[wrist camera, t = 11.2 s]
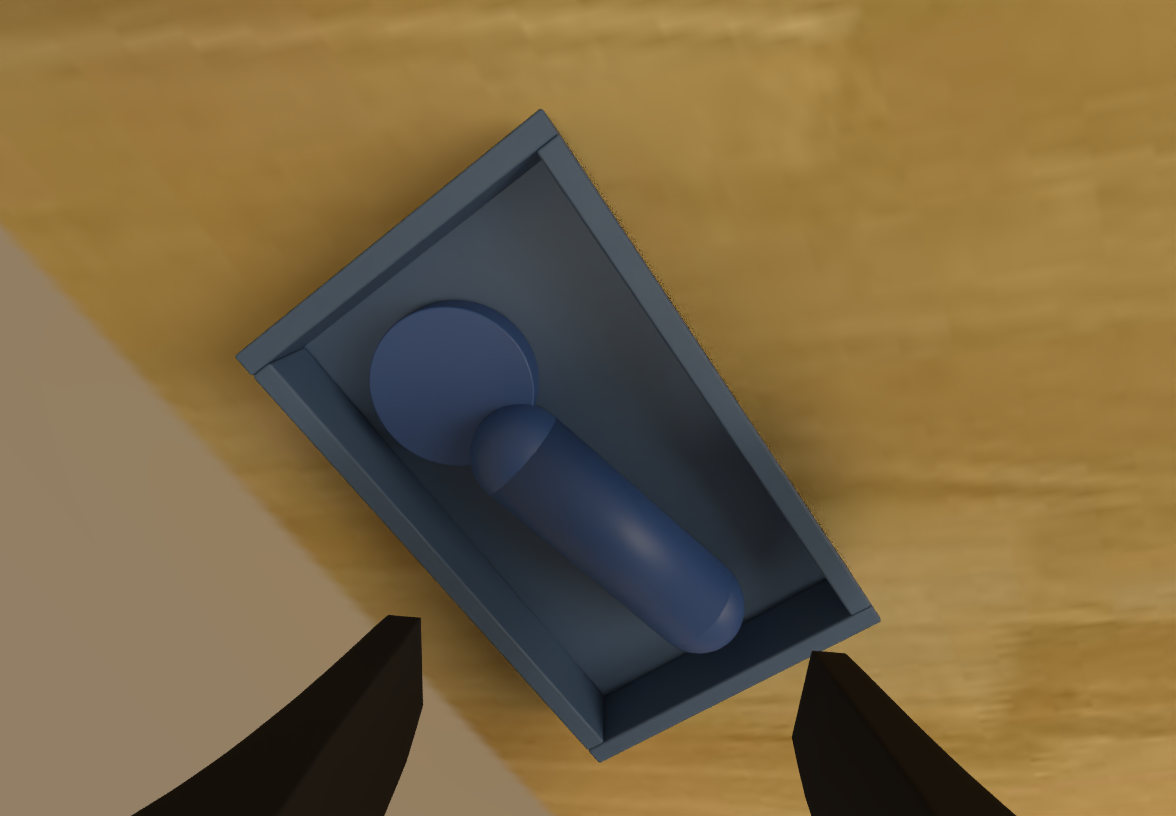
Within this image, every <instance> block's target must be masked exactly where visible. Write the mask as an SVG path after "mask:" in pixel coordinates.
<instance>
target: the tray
mask: <svg viewBox="0 0 1176 816" xmlns="http://www.w3.org/2000/svg"><path fill="white" fill-rule="evenodd" d="M449 300H463V301H469V302H474V303H478V304H481V305H484V306H487V307H489V308H491V309H493V310H495V311H497V312H498V313H500V314H502V315H503V316H505V317H506V318H507V319H508V320H510V321H511V322H512V323H513V324H514V325H515V326H516V327H517V328H518V329H519V330H520V332H521V333H522V334H523V336H524V337H525V338H526V340H527V342H528V343H529V345H530V347H531V349H532V351H533V354H534V356H535V359H536V363H537V367H538V374H539V390H538V397H537V400H536V404H535V406H539V407H541V408H543V409H545V410H547V411H549V412H550V413H551V414H553V415H554V416H556V417H557V418H558V419H559V420H560V421H561V422H562V423H564V424H565V425H566V426H567V427H568V428H569V429H570V430H571V431H573V432H574V433H575V434H576V435H577V436H578V437H579V438H581V439H582V440H583V441H584V442H585V443H586V444H587V445H589V446H590V447H591V448H592V449H593V450H594V451H595V452H596V453H598V454H599V455H600V456H601V457H602V458H603V459H604V460H606V461H607V462H608V463H609V464H610V465H611V466H612V467H614V468H615V469H616V470H617V471H618V472H619V473H620V474H621V475H623V476H624V477H625V478H626V479H627V480H628V481H629V482H631V483H632V484H633V485H634V486H635V487H636V488H637V489H639V490H640V491H641V492H642V493H643V494H644V495H645V496H647V497H648V498H649V499H650V500H651V501H652V502H653V503H654V504H656V505H657V506H658V507H659V508H660V509H661V510H662V511H664V512H665V513H666V514H667V515H668V516H669V517H670V518H672V519H673V520H674V521H675V522H676V523H677V524H678V525H679V526H681V527H682V528H683V529H684V530H685V531H686V532H687V533H689V534H690V535H691V536H692V537H693V538H694V539H695V540H697V541H698V542H699V543H700V544H701V545H702V546H703V547H704V548H706V549H707V550H708V551H709V552H710V553H711V554H712V555H714V556H715V557H716V558H717V559H718V560H719V561H720V562H722V563H723V564H724V565H725V566H726V567H727V568H728V569H729V570H730V571H731V572H732V573H733V574H734V576H735V577H736V579H737V581H738V582H739V584H740V586H741V589H742V592H743V596H744V605H745V610H744V617H743V621H742V624H741V627H740V629H739V631H738V632H737V634H736V635H735V637H734V638H733V639H732V640H731V641H730V642H729V643H728V644H726V645H725V646H723V647H722V648H720V649H718V650H716V651H713V652H708V653H689V652H686V651H683V650H681V649H678V648H676V647H675V646H673V645H672V644H670V643H669V642H667V641H666V640H665V639H664V638H663V637H661V636H660V635H659V634H658V633H656V632H655V631H654V630H653V629H652V628H650V627H649V626H648V625H647V624H645V623H644V622H643V621H642V620H641V619H639V618H638V617H637V616H636V615H635V614H633V613H632V612H631V611H630V610H628V609H627V608H626V607H625V606H624V605H622V604H621V603H620V602H619V601H618V600H616V599H615V598H614V597H613V596H611V595H610V594H609V593H608V592H607V591H605V590H604V589H603V588H602V587H601V586H599V585H598V584H597V583H596V582H594V581H593V580H592V579H591V578H590V577H588V576H587V575H586V574H585V573H584V572H582V571H581V570H580V569H579V568H577V567H576V566H575V565H574V564H573V563H571V562H570V561H569V560H568V559H567V558H565V557H564V556H563V555H562V554H560V553H559V552H558V551H557V550H556V549H554V548H553V547H552V546H551V545H550V544H548V543H547V542H546V541H545V540H543V539H542V538H541V537H540V536H539V535H537V534H536V533H535V532H534V531H533V530H531V529H530V528H529V527H528V526H526V525H525V524H524V523H523V522H522V521H520V520H519V519H518V518H517V517H515V516H514V515H513V514H512V513H511V512H509V511H508V510H507V509H506V508H505V507H503V506H502V505H501V504H500V503H498V502H497V501H496V500H495V499H494V498H492V497H491V496H490V495H489V494H488V493H487V492H486V491H485V490H484V489H483V488H482V487H481V486H480V484H479V483H478V481H477V480H476V478H475V476H474V473H473V471H472V467H471V465H464V466H451V465H444V464H438V463H435V462H431V461H428V460H426V459H424V458H421V457H419V456H417V455H415V454H414V453H412V452H410V451H409V450H407V449H406V448H404V447H403V446H402V445H401V444H399V443H398V442H397V441H396V440H395V439H394V438H393V437H392V436H391V435H390V433H389V432H388V431H387V430H386V428H385V427H384V425H383V424H382V422H381V421H380V419H379V417H378V415H377V413H376V411H375V408H374V405H373V403H372V398H371V394H370V386H369V371H370V365H371V360H372V357H373V354H374V351H375V349H376V347H377V345H378V343H379V341H380V340H381V339H382V337H383V336H384V334H385V333H386V332H387V331H388V330H389V329H390V328H391V327H392V326H393V325H394V324H395V323H396V322H398V321H399V320H400V319H402V318H404V317H405V316H407V315H409V314H411V313H413V312H415V311H416V310H418V309H420V308H422V307H425V306H427V305H430V304H432V303H437V302H441V301H449ZM235 357H236V359H237V360H238V361H239V362H240V363H241V364H242V365H243V367H244V368H245V369H246V370H247V371H248V372H249V373H250V374H251V375H254V374H255V375H254V378H255V380H256V381H257V382H258V383H259V384H260V385H261V386H262V387H263V388H264V390H265V391H266V392H267V393H268V394H269V395H270V396H271V397H272V398H273V400H274V401H275V402H276V403H277V404H278V405H279V406H280V407H281V409H282V410H283V411H284V412H285V413H286V414H287V415H288V416H289V417H290V419H291V420H292V421H293V422H294V423H295V424H296V425H297V426H298V427H299V429H300V430H301V431H302V432H303V433H304V434H305V435H306V436H307V438H308V439H309V440H310V441H311V442H312V443H313V444H314V445H315V446H316V448H317V449H318V450H319V451H320V452H321V453H322V454H323V455H324V456H325V458H326V459H327V460H328V461H329V462H330V463H331V464H332V465H333V467H334V468H335V469H336V470H337V471H338V472H339V473H340V474H341V475H342V477H343V478H344V479H345V480H346V481H347V482H348V483H349V484H350V485H351V487H352V488H353V489H354V490H355V491H356V492H357V493H358V494H359V495H360V497H361V498H362V499H363V500H364V501H365V502H366V503H367V504H368V506H369V507H370V508H371V509H372V510H373V511H374V512H375V513H376V514H377V516H378V517H379V518H380V519H381V520H382V521H383V522H384V523H385V524H386V526H387V527H388V528H389V529H390V530H391V531H392V532H393V533H394V535H395V536H396V537H397V538H398V539H399V540H400V541H401V542H402V543H403V545H404V546H405V547H406V548H407V549H408V550H409V551H410V552H411V553H412V555H413V556H414V557H415V558H416V559H417V560H418V561H419V562H420V564H421V565H422V566H423V567H424V568H425V569H426V570H427V571H428V572H429V574H430V575H431V576H432V577H433V578H434V579H435V580H436V581H437V582H438V584H439V585H440V586H441V587H442V588H443V589H444V590H445V591H446V593H447V594H448V595H449V596H450V597H451V598H452V599H453V600H454V601H455V603H456V604H457V605H458V606H459V607H460V608H461V609H462V610H463V611H464V613H465V614H466V615H467V616H468V617H469V618H470V619H471V620H472V621H473V623H474V624H475V625H476V626H477V627H478V628H479V629H480V630H481V632H482V633H483V634H484V635H485V636H486V637H487V638H488V639H489V640H490V642H491V643H492V644H493V645H494V646H495V647H496V648H497V649H498V650H499V652H500V653H501V654H502V655H503V656H504V657H505V658H506V659H507V661H508V662H509V663H510V664H511V665H512V666H513V667H514V668H515V669H516V671H517V672H518V673H519V674H520V675H521V676H522V677H523V678H524V679H525V681H526V682H527V683H528V684H529V685H530V686H531V687H532V688H533V690H534V691H535V692H536V693H537V694H538V695H539V696H540V697H541V698H542V700H543V701H544V702H545V703H546V704H547V705H548V706H549V707H550V708H551V710H552V711H553V712H554V713H555V714H556V715H557V716H558V717H559V719H560V720H561V721H562V722H563V723H564V724H565V725H566V726H567V727H568V729H569V730H570V731H571V732H572V733H573V734H574V735H575V736H576V737H577V739H578V740H579V741H580V742H581V743H582V744H583V745H584V746H585V747H586V749H589V752H590V753H591V754H592V755H593V756H594V758H595V759H596V760H597V761H598V762H602V761H604V760H606V759H608V758H610V757H612V756H614V755H616V754H618V753H620V752H622V751H624V750H626V749H628V748H630V747H632V746H634V745H636V744H638V743H640V742H642V741H644V740H646V739H648V738H650V737H652V736H654V735H656V734H658V733H660V732H662V731H664V730H666V729H668V728H670V727H672V726H674V725H676V724H678V723H680V722H682V721H684V720H686V719H688V718H690V717H692V716H694V715H696V714H698V713H700V712H702V711H704V710H706V709H708V708H710V707H712V706H714V705H716V704H718V703H720V702H722V701H724V700H726V699H728V698H730V697H732V696H734V695H736V694H738V693H740V692H741V691H743V690H745V689H747V688H749V687H751V686H753V685H755V684H757V683H759V682H761V681H763V680H765V679H767V678H769V677H771V676H773V675H775V674H777V673H779V672H781V671H783V670H785V669H787V668H789V667H791V666H793V665H795V664H797V663H799V662H801V661H803V660H805V659H807V658H809V657H811V652H812V651H823V650H825V649H827V648H829V647H831V646H833V645H835V644H837V643H839V642H841V641H843V640H845V639H847V638H849V637H851V636H853V635H855V634H857V633H859V632H861V631H863V630H865V629H867V628H869V627H871V626H873V625H875V624H877V623H879V622H880V621H881V620H880V617H879V615H878V614H877V612H876V611H875V609H874V608H873V606H872V605H871V603H870V602H869V600H868V598H867V597H866V595H865V594H864V592H863V591H862V589H861V588H860V586H859V585H858V583H857V582H856V580H855V579H854V577H853V575H852V574H851V572H850V571H849V569H848V568H847V566H846V565H845V563H844V562H843V560H842V559H841V557H840V556H839V554H838V553H837V551H836V550H835V548H834V547H833V545H832V544H831V542H830V541H829V539H828V538H827V536H826V535H825V533H824V532H823V530H822V529H821V527H820V526H819V524H818V523H817V521H816V520H815V518H814V517H813V515H812V514H811V512H810V511H809V509H808V508H807V506H806V505H805V503H804V502H803V500H802V498H801V497H800V495H799V494H798V492H797V491H796V489H795V488H794V486H793V485H792V483H791V482H790V480H789V479H788V477H787V476H786V474H785V473H784V471H783V470H782V468H781V467H780V465H779V464H778V462H777V461H776V459H775V458H774V456H773V455H772V453H771V452H770V450H769V449H768V447H767V446H766V444H765V443H764V441H763V440H762V438H761V437H760V435H759V434H758V432H757V431H756V429H755V428H754V426H753V425H752V423H751V422H750V420H749V419H748V417H747V416H746V414H745V413H744V411H743V410H742V408H741V407H740V405H739V404H738V402H737V401H736V399H735V398H734V396H733V394H732V393H731V391H730V390H729V388H728V387H727V385H726V384H725V382H724V381H723V379H722V378H721V376H720V375H719V373H718V372H717V370H716V369H715V367H714V366H713V364H712V363H711V361H710V360H709V358H708V357H707V355H706V354H705V352H704V351H703V349H702V348H701V346H700V345H699V343H698V342H697V340H696V339H695V337H694V336H693V334H692V333H691V331H690V330H689V328H688V327H687V325H686V324H685V322H684V321H683V319H682V318H681V316H680V315H679V313H678V312H677V310H676V309H675V307H674V306H673V304H672V303H671V301H670V300H669V298H668V297H667V295H666V293H665V292H664V290H663V289H662V287H661V286H660V284H659V283H658V281H657V280H656V278H655V277H654V275H653V274H652V272H651V271H650V269H649V268H648V266H647V265H646V263H645V262H644V260H643V259H642V257H641V256H640V254H639V253H638V251H637V250H636V248H635V247H634V245H633V244H632V242H631V241H630V239H629V238H628V236H627V235H626V233H625V232H624V230H623V229H622V227H621V226H620V224H619V223H618V221H617V220H616V218H615V217H614V215H613V214H612V212H611V211H610V209H609V208H608V206H607V205H606V203H605V202H604V200H603V199H602V197H601V196H600V194H599V192H598V191H597V189H596V188H595V186H594V185H593V183H592V182H591V180H590V179H589V177H588V176H587V174H586V173H585V171H584V170H583V168H582V167H581V165H580V164H579V162H578V161H577V159H576V158H575V156H574V155H573V153H572V152H571V150H570V149H569V147H568V146H567V144H566V143H565V141H564V140H563V138H562V137H561V135H560V134H559V132H558V131H557V129H556V128H555V126H554V125H553V123H552V122H551V120H550V119H549V118H548V116H547V115H546V113H545V112H544V111H543V110H542V109H539V110H538V111H537V112H535V113H534V114H533V115H532V116H530V117H529V118H528V119H527V120H526V121H524V122H523V123H522V124H521V125H519V126H518V127H517V128H516V129H514V130H513V131H512V132H511V133H509V134H508V135H507V136H506V137H505V138H503V139H502V140H501V141H500V142H498V143H497V144H496V145H495V146H493V147H492V148H491V149H490V150H488V151H487V152H486V153H485V154H484V155H482V156H481V157H480V158H479V159H477V160H476V161H475V162H474V163H472V164H471V165H470V166H469V167H467V168H466V169H465V170H464V171H463V172H461V173H460V174H459V175H458V176H456V177H455V178H454V179H453V180H451V181H450V182H449V183H448V184H447V185H445V186H444V187H443V188H442V189H440V190H439V191H438V192H437V193H435V194H434V195H433V196H432V197H430V198H429V199H428V200H427V201H426V202H424V203H423V204H422V205H421V206H419V207H418V208H417V209H416V210H414V211H413V212H412V213H411V214H409V215H408V216H407V217H406V218H405V219H403V220H402V221H401V222H400V223H398V224H397V225H396V226H395V227H393V228H392V229H391V230H390V231H388V232H387V233H386V234H385V235H384V236H382V237H381V238H380V239H379V240H377V241H376V242H375V243H374V244H372V245H371V246H370V247H369V248H367V249H366V250H365V251H364V252H363V253H361V254H360V255H359V256H358V257H356V258H355V259H354V260H353V261H351V262H350V263H349V264H348V265H346V266H345V267H344V268H343V269H342V270H340V271H339V272H338V273H337V274H335V275H334V276H333V277H332V278H330V279H329V280H328V281H327V282H325V283H324V284H323V285H322V286H321V287H319V288H318V289H317V290H316V291H314V292H313V293H312V294H311V295H309V296H308V297H307V298H306V299H304V300H303V301H302V302H301V303H300V304H298V305H297V306H296V307H295V308H293V309H292V310H291V311H290V312H288V313H287V314H286V315H285V316H283V317H282V318H281V319H280V320H279V321H277V322H276V323H275V324H274V325H272V326H271V327H270V328H269V329H267V330H266V331H265V332H264V333H262V334H261V335H260V336H259V337H258V338H256V339H255V340H254V341H253V342H251V343H250V344H249V345H248V346H246V347H245V348H244V349H243V350H241V351H240V352H239V353H238V354H237V355H236V356H235Z"/></svg>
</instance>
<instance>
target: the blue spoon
mask: <svg viewBox="0 0 1176 816" xmlns="http://www.w3.org/2000/svg"><path fill="white" fill-rule="evenodd" d="M369 386H370V394H371V398H372V403H373V405H374V408H375V411H376V413H377V415H378V417H379V419H380V421H381V422H382V424H383V425H384V427H385V428H386V430H387V431H388V432H389V433H390V435H391V436H392V437H393V438H394V439H395V440H396V441H397V442H398V443H399V444H401V445H402V446H403V447H404V448H406V449H407V450H409V451H410V452H412V453H414V454H415V455H417V456H419V457H421V458H424V459H426V460H428V461H431V462H435V463H438V464H444V465H451V466H464V465H471V467H472V471H473V473H474V476H475V478H476V480H477V481H478V483H479V484H480V486H481V487H482V488H483V489H484V490H485V491H486V492H487V493H488V494H489V495H490V496H491V497H492V498H494V499H495V500H496V501H497V502H498V503H500V504H501V505H502V506H503V507H505V508H506V509H507V510H508V511H509V512H511V513H512V514H513V515H514V516H515V517H517V518H518V519H519V520H520V521H522V522H523V523H524V524H525V525H526V526H528V527H529V528H530V529H531V530H533V531H534V532H535V533H536V534H537V535H539V536H540V537H541V538H542V539H543V540H545V541H546V542H547V543H548V544H550V545H551V546H552V547H553V548H554V549H556V550H557V551H558V552H559V553H560V554H562V555H563V556H564V557H565V558H567V559H568V560H569V561H570V562H571V563H573V564H574V565H575V566H576V567H577V568H579V569H580V570H581V571H582V572H584V573H585V574H586V575H587V576H588V577H590V578H591V579H592V580H593V581H594V582H596V583H597V584H598V585H599V586H601V587H602V588H603V589H604V590H605V591H607V592H608V593H609V594H610V595H611V596H613V597H614V598H615V599H616V600H618V601H619V602H620V603H621V604H622V605H624V606H625V607H626V608H627V609H628V610H630V611H631V612H632V613H633V614H635V615H636V616H637V617H638V618H639V619H641V620H642V621H643V622H644V623H645V624H647V625H648V626H649V627H650V628H652V629H653V630H654V631H655V632H656V633H658V634H659V635H660V636H661V637H663V638H664V639H665V640H666V641H667V642H669V643H670V644H672V645H673V646H675V647H676V648H678V649H681V650H683V651H686V652H689V653H708V652H713V651H716V650H718V649H720V648H722V647H723V646H725V645H726V644H728V643H729V642H730V641H731V640H732V639H733V638H734V637H735V635H736V634H737V632H738V631H739V629H740V627H741V624H742V621H743V617H744V610H745V605H744V596H743V592H742V589H741V586H740V584H739V582H738V581H737V579H736V577H735V576H734V574H733V573H732V572H731V571H730V570H729V569H728V568H727V567H726V566H725V565H724V564H723V563H722V562H720V561H719V560H718V559H717V558H716V557H715V556H714V555H712V554H711V553H710V552H709V551H708V550H707V549H706V548H704V547H703V546H702V545H701V544H700V543H699V542H698V541H697V540H695V539H694V538H693V537H692V536H691V535H690V534H689V533H687V532H686V531H685V530H684V529H683V528H682V527H681V526H679V525H678V524H677V523H676V522H675V521H674V520H673V519H672V518H670V517H669V516H668V515H667V514H666V513H665V512H664V511H662V510H661V509H660V508H659V507H658V506H657V505H656V504H654V503H653V502H652V501H651V500H650V499H649V498H648V497H647V496H645V495H644V494H643V493H642V492H641V491H640V490H639V489H637V488H636V487H635V486H634V485H633V484H632V483H631V482H629V481H628V480H627V479H626V478H625V477H624V476H623V475H621V474H620V473H619V472H618V471H617V470H616V469H615V468H614V467H612V466H611V465H610V464H609V463H608V462H607V461H606V460H604V459H603V458H602V457H601V456H600V455H599V454H598V453H596V452H595V451H594V450H593V449H592V448H591V447H590V446H589V445H587V444H586V443H585V442H584V441H583V440H582V439H581V438H579V437H578V436H577V435H576V434H575V433H574V432H573V431H571V430H570V429H569V428H568V427H567V426H566V425H565V424H564V423H562V422H561V421H560V420H559V419H558V418H557V417H556V416H554V415H553V414H551V413H550V412H549V411H547V410H545V409H543V408H541V407H539V406H535V404H536V400H537V397H538V390H539V374H538V367H537V363H536V359H535V356H534V354H533V351H532V349H531V347H530V345H529V343H528V342H527V340H526V338H525V337H524V336H523V334H522V333H521V332H520V330H519V329H518V328H517V327H516V326H515V325H514V324H513V323H512V322H511V321H510V320H508V319H507V318H506V317H505V316H503V315H502V314H500V313H498V312H497V311H495V310H493V309H491V308H489V307H487V306H484V305H481V304H478V303H474V302H469V301H463V300H449V301H441V302H437V303H432V304H430V305H427V306H425V307H422V308H420V309H418V310H416V311H415V312H413V313H411V314H409V315H407V316H405V317H404V318H402V319H400V320H399V321H398V322H396V323H395V324H394V325H393V326H392V327H391V328H390V329H389V330H388V331H387V332H386V333H385V334H384V336H383V337H382V339H381V340H380V341H379V343H378V345H377V347H376V349H375V351H374V354H373V357H372V360H371V365H370V371H369Z"/></svg>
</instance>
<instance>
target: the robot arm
mask: <svg viewBox="0 0 1176 816" xmlns="http://www.w3.org/2000/svg"><path fill="white" fill-rule="evenodd" d="M422 690H423V689H422V646H421V618H417V617H405V616H393V615H388V616H387V617H385V618H384V619H383V620H382V621H381V622H379V623H378V624H377V625H376V626H375V627H374V628H373V629H372V630H371V631H370V632H369V633H367V634H366V635H365V636H364V637H363V638H362V639H361V640H360V641H359V642H358V643H357V644H356V645H355V646H353V647H352V648H351V649H350V650H349V651H348V652H347V653H346V654H345V655H344V656H343V657H341V658H340V659H339V660H338V661H337V662H336V663H335V664H334V665H333V666H332V667H330V668H329V669H328V670H327V671H326V672H325V673H324V674H323V675H322V676H320V677H319V678H318V679H317V680H316V681H314V682H313V683H312V684H311V685H310V686H309V687H308V688H307V689H305V690H304V691H303V692H302V693H301V694H300V695H298V696H297V697H296V698H295V699H294V700H292V701H291V702H290V703H289V704H288V705H286V706H285V707H284V708H283V709H281V710H280V711H279V712H278V713H276V714H275V715H274V716H273V717H271V718H270V719H269V720H268V721H266V722H265V723H264V724H263V725H261V726H260V727H259V728H258V729H257V730H255V731H254V732H253V733H252V734H250V735H249V736H248V737H246V738H245V739H244V740H243V741H241V742H240V743H239V744H237V745H236V746H235V747H233V748H232V749H231V750H229V751H228V752H227V753H226V754H224V755H223V756H221V757H220V758H218V759H217V760H216V761H214V762H213V763H211V764H210V765H209V766H207V767H206V768H204V769H203V770H201V771H200V772H198V773H197V774H196V775H194V776H193V777H191V778H190V779H188V780H187V781H186V782H184V783H183V784H181V785H179V786H178V787H176V788H175V789H173V790H172V791H170V792H169V793H167V794H166V795H164V796H163V797H161V798H159V799H158V800H156V801H154V802H153V803H151V804H150V805H148V806H146V807H145V808H143V809H141V810H140V811H138V812H137V813H135V814H133V815H132V816H384V815H385V813H386V810H387V807H388V805H389V803H390V800H391V798H392V795H393V793H394V791H395V788H396V786H397V784H398V781H399V779H400V776H401V774H402V771H403V769H404V766H405V764H406V761H407V758H408V755H409V751H410V748H411V745H412V741H413V738H414V735H415V731H416V728H417V724H418V721H419V717H420V714H421V710H422V707H423V693H422V692H423V691H422ZM792 740H793V745H794V750H795V754H796V759H797V764H798V768H799V773H800V777H801V781H802V785H803V789H804V794H805V798H806V801H807V804H808V807H809V810H810V813H811V816H1016V815H1015V814H1014V813H1012V812H1011V811H1010V810H1009V809H1008V808H1007V807H1006V806H1004V805H1003V804H1002V803H1001V802H1000V801H999V800H998V799H997V798H995V797H994V796H993V795H992V794H991V793H990V792H989V791H988V790H986V789H985V788H984V787H983V786H982V785H981V784H980V783H979V782H977V781H976V780H975V779H974V778H973V777H972V776H971V775H970V774H968V773H967V772H966V771H965V770H964V769H963V768H962V767H961V766H960V765H959V764H958V763H957V762H956V761H954V760H953V759H952V758H951V757H950V756H949V755H948V754H947V753H946V752H945V751H944V750H943V749H942V748H941V747H940V746H939V745H938V744H937V743H935V742H934V741H933V740H932V739H931V738H930V737H929V736H928V735H927V734H926V733H925V732H924V731H923V730H922V729H921V728H920V727H919V726H918V725H917V724H916V723H915V722H914V721H913V720H912V719H911V718H910V717H909V716H908V715H907V714H906V713H905V712H904V711H903V710H902V709H901V708H900V707H899V706H898V705H897V704H896V703H895V702H894V701H893V700H892V699H891V698H890V697H889V696H888V695H887V694H886V693H885V692H884V691H883V690H882V689H881V688H880V687H879V686H878V685H877V684H876V683H875V682H874V681H873V680H872V679H871V678H870V677H869V676H868V675H867V674H866V673H865V672H864V671H863V670H862V669H861V668H860V667H859V666H858V665H857V664H856V663H855V662H854V661H853V660H852V659H851V658H850V657H849V656H848V655H847V654H845V653H834V652H822V651H812V652H811V657H810V661H809V665H808V670H807V674H806V678H805V683H804V687H803V691H802V696H801V700H800V704H799V709H798V713H797V717H796V722H795V726H794V730H793V735H792Z"/></svg>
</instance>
